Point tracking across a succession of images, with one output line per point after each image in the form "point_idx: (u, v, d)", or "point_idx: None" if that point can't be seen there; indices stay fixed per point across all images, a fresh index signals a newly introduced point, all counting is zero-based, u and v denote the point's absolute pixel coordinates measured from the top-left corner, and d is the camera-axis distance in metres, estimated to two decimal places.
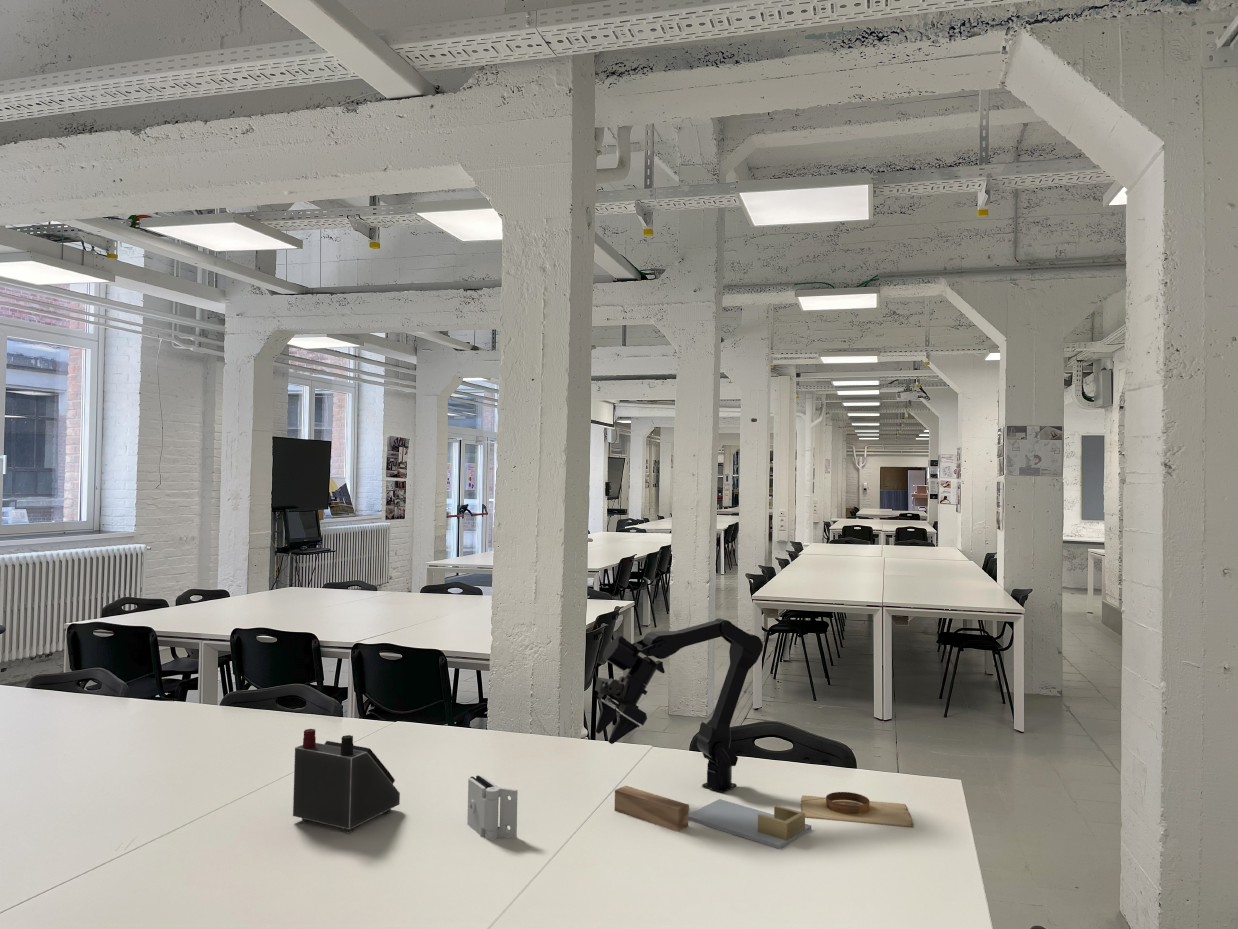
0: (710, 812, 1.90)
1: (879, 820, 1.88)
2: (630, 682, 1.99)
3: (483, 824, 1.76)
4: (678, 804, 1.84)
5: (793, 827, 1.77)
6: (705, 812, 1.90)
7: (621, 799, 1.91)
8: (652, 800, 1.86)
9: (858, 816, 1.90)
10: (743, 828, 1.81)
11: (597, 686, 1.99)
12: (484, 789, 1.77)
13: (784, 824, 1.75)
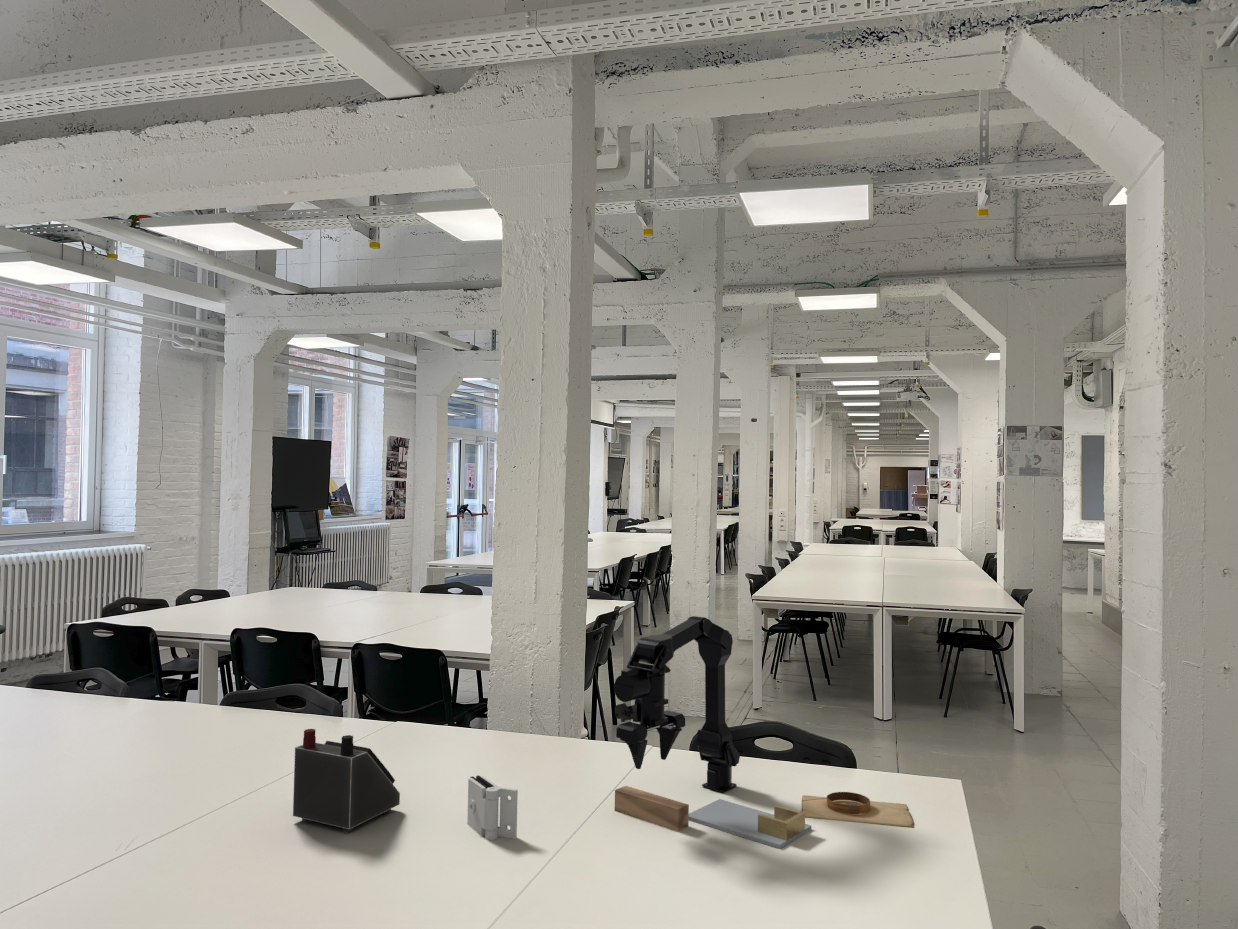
0: (710, 812, 1.90)
1: (880, 820, 1.88)
2: (637, 700, 1.89)
3: (483, 824, 1.76)
4: (678, 804, 1.84)
5: (793, 827, 1.77)
6: (705, 812, 1.90)
7: (621, 799, 1.91)
8: (652, 800, 1.86)
9: (859, 816, 1.90)
10: (743, 828, 1.81)
11: None
12: (484, 789, 1.77)
13: (784, 824, 1.75)
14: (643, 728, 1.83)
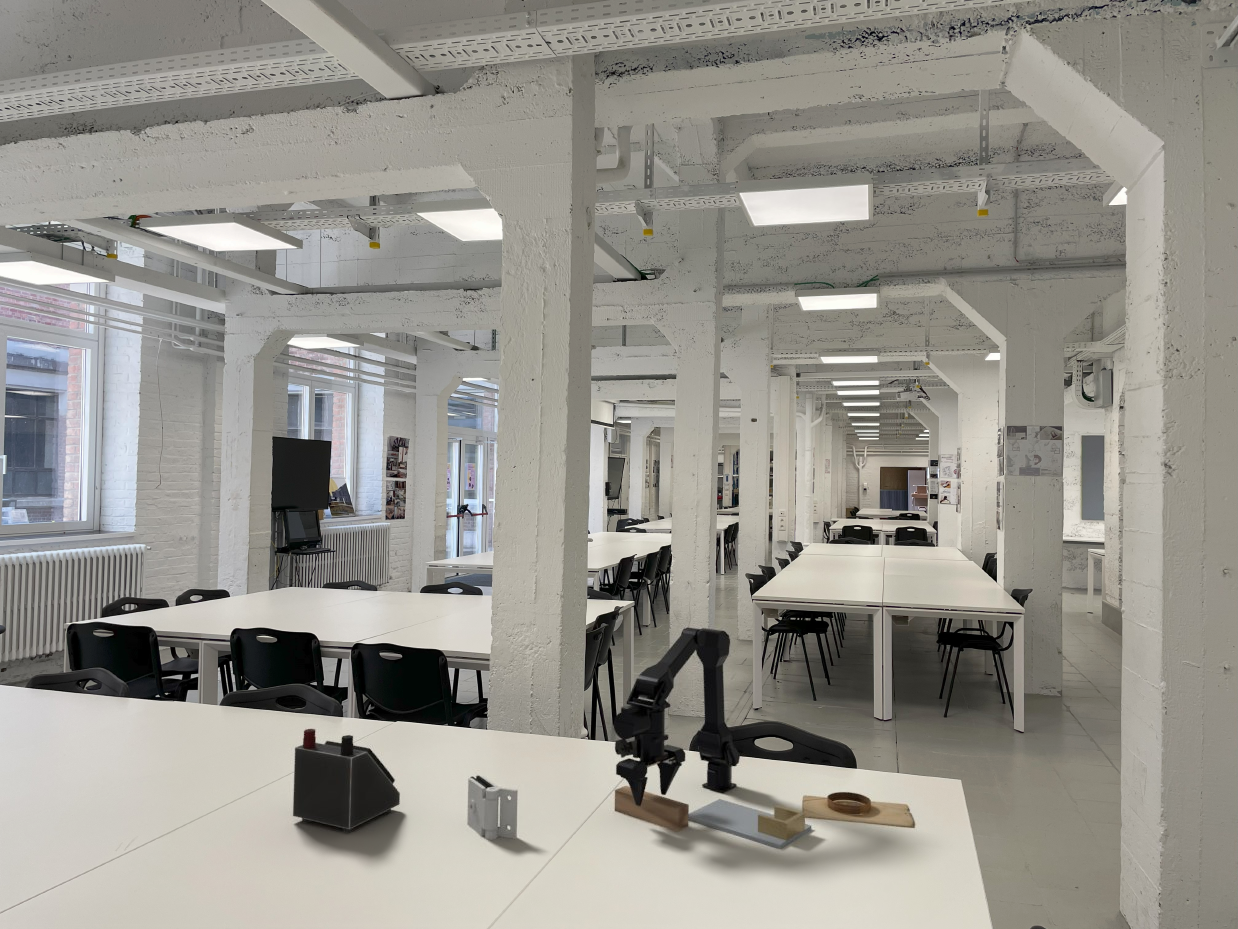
0: (710, 812, 1.90)
1: (880, 820, 1.88)
2: (637, 736, 1.89)
3: (483, 824, 1.76)
4: (678, 804, 1.84)
5: (793, 827, 1.77)
6: (705, 812, 1.90)
7: (621, 799, 1.91)
8: (652, 800, 1.86)
9: (859, 816, 1.90)
10: (743, 828, 1.81)
11: None
12: (484, 789, 1.77)
13: (784, 824, 1.75)
14: (643, 765, 1.82)
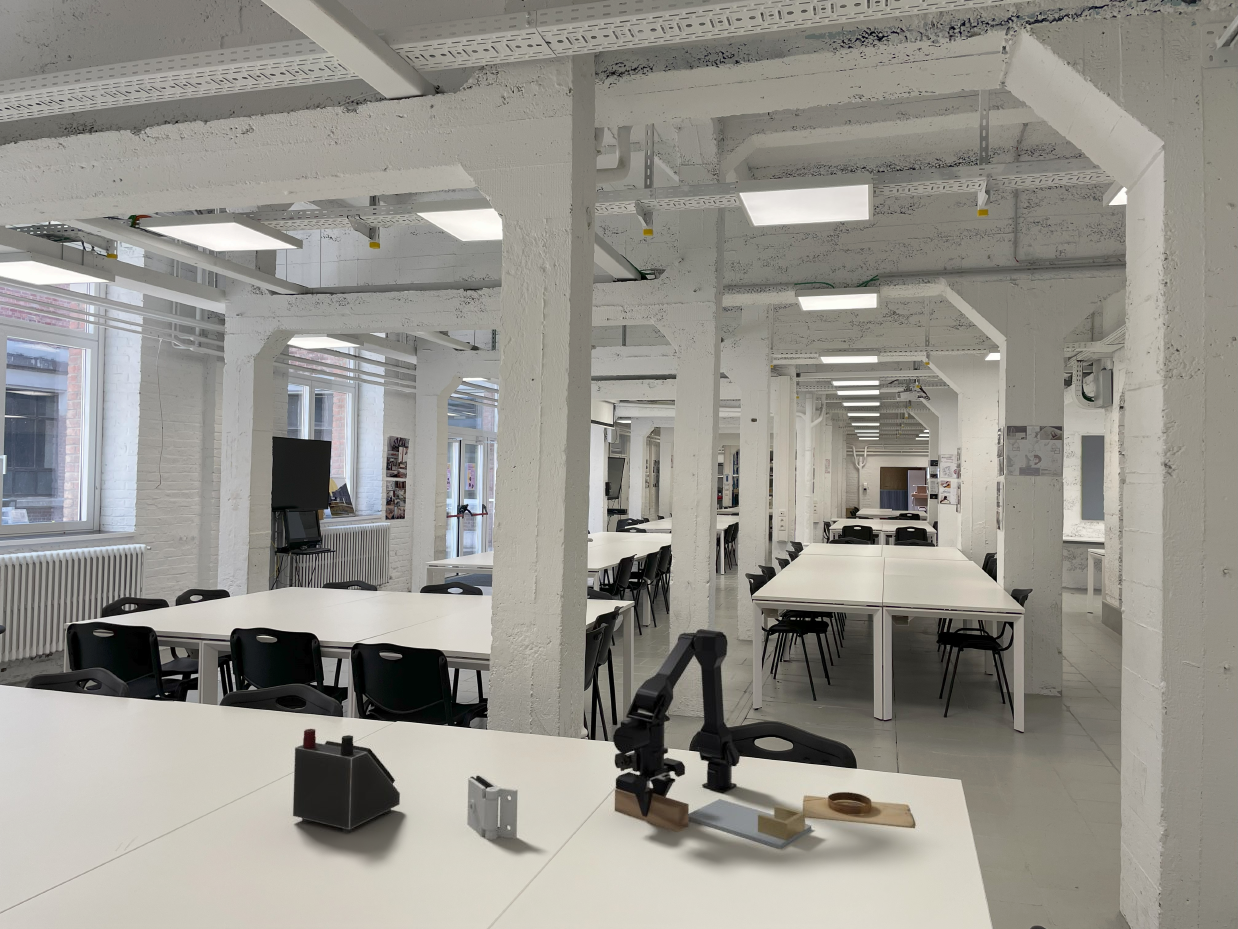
0: (710, 812, 1.90)
1: (881, 820, 1.88)
2: (637, 750, 1.88)
3: (483, 824, 1.76)
4: (678, 804, 1.84)
5: (793, 827, 1.77)
6: (705, 812, 1.90)
7: (621, 798, 1.91)
8: (652, 800, 1.86)
9: (860, 817, 1.90)
10: (743, 828, 1.81)
11: None
12: (484, 789, 1.77)
13: (784, 824, 1.75)
14: (643, 779, 1.82)
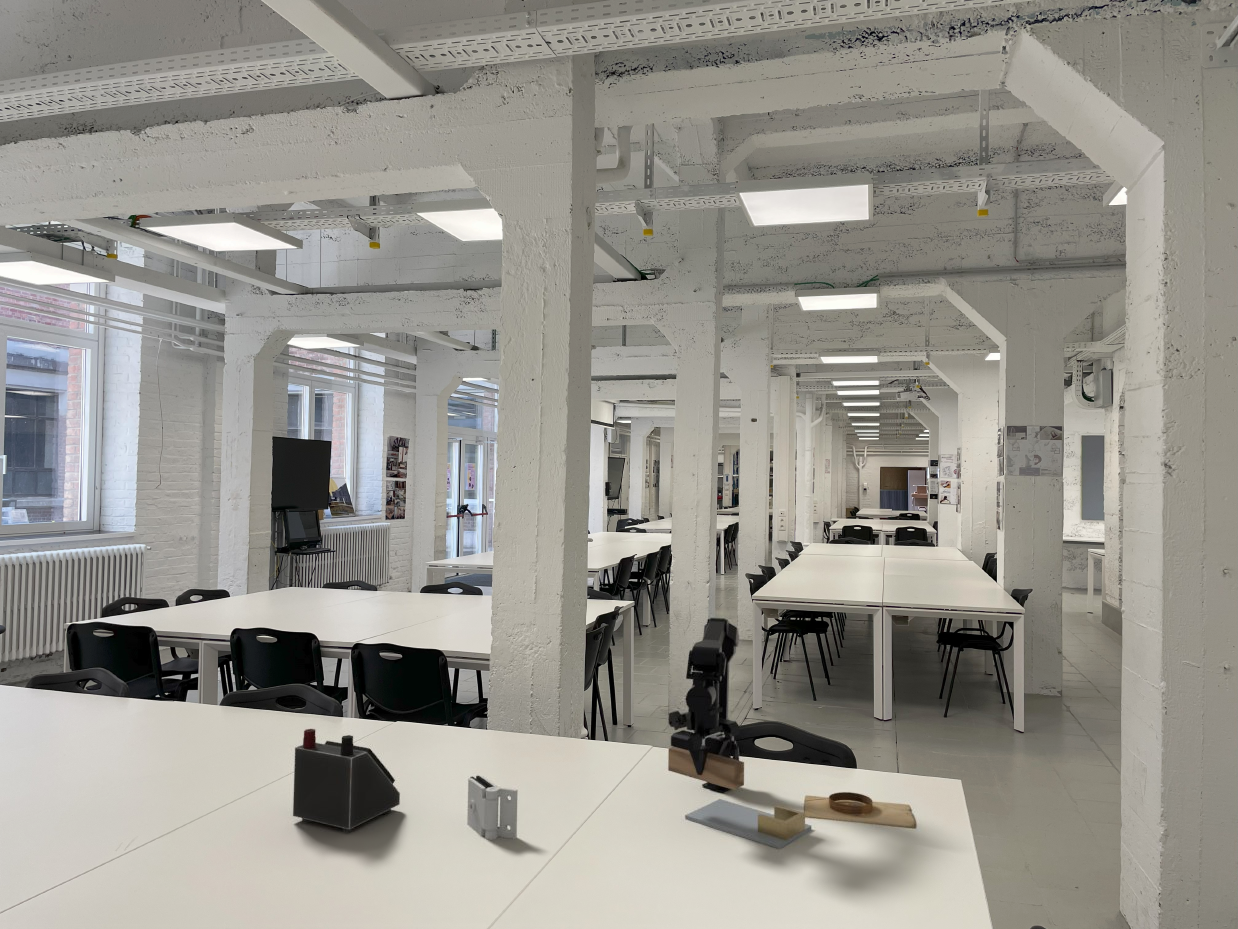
0: (710, 812, 1.90)
1: (882, 820, 1.88)
2: None
3: (483, 824, 1.76)
4: (733, 762, 1.83)
5: (793, 827, 1.77)
6: (705, 812, 1.90)
7: (675, 757, 1.90)
8: (707, 758, 1.85)
9: (861, 817, 1.90)
10: (743, 828, 1.81)
11: None
12: (484, 789, 1.77)
13: (784, 824, 1.75)
14: (698, 737, 1.81)
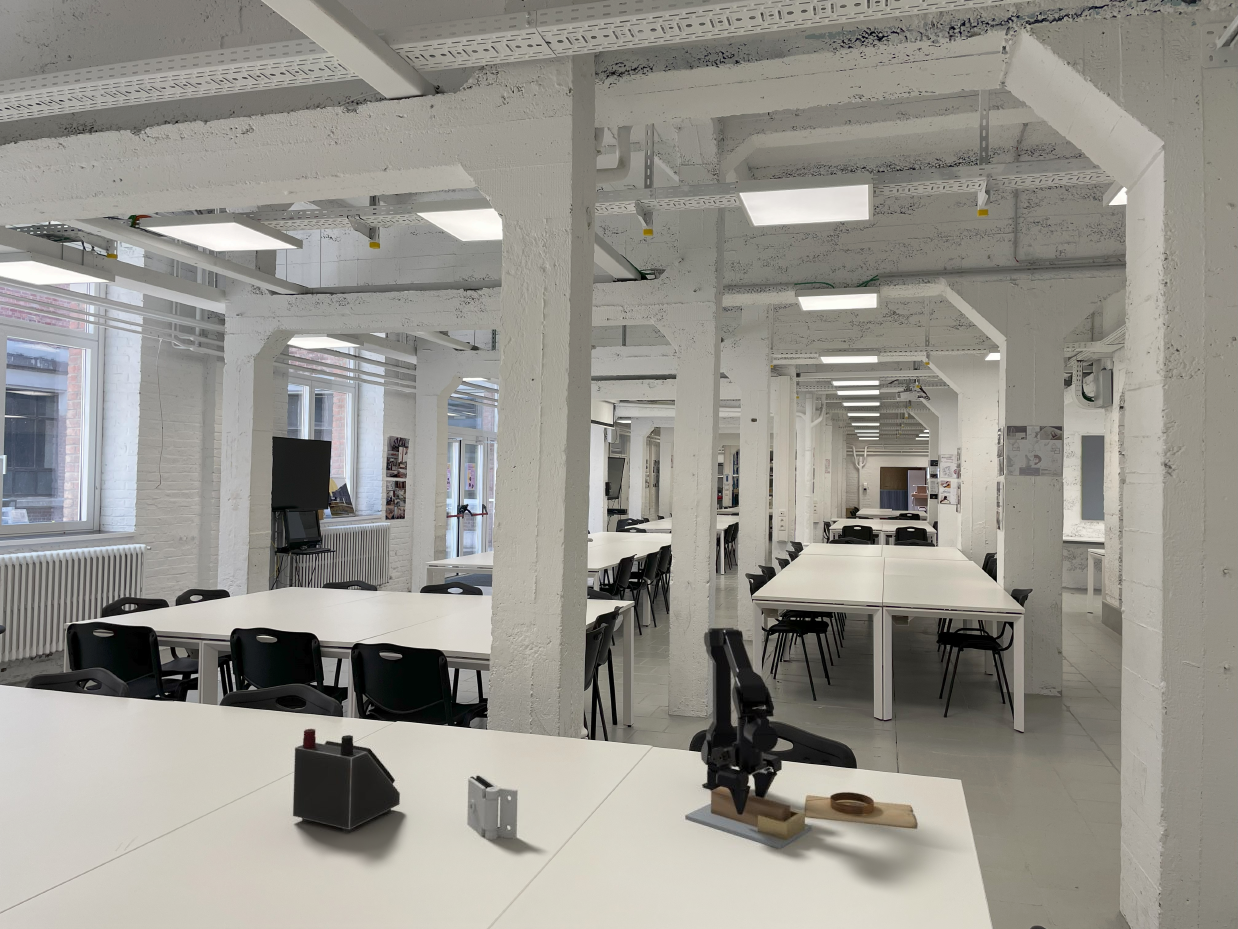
0: (710, 812, 1.90)
1: (883, 821, 1.88)
2: (735, 744, 1.86)
3: (483, 824, 1.76)
4: (780, 805, 1.81)
5: (793, 827, 1.77)
6: (705, 812, 1.90)
7: (718, 800, 1.88)
8: (752, 801, 1.83)
9: (862, 817, 1.90)
10: (743, 828, 1.81)
11: None
12: (484, 789, 1.77)
13: (784, 824, 1.75)
14: (745, 774, 1.79)
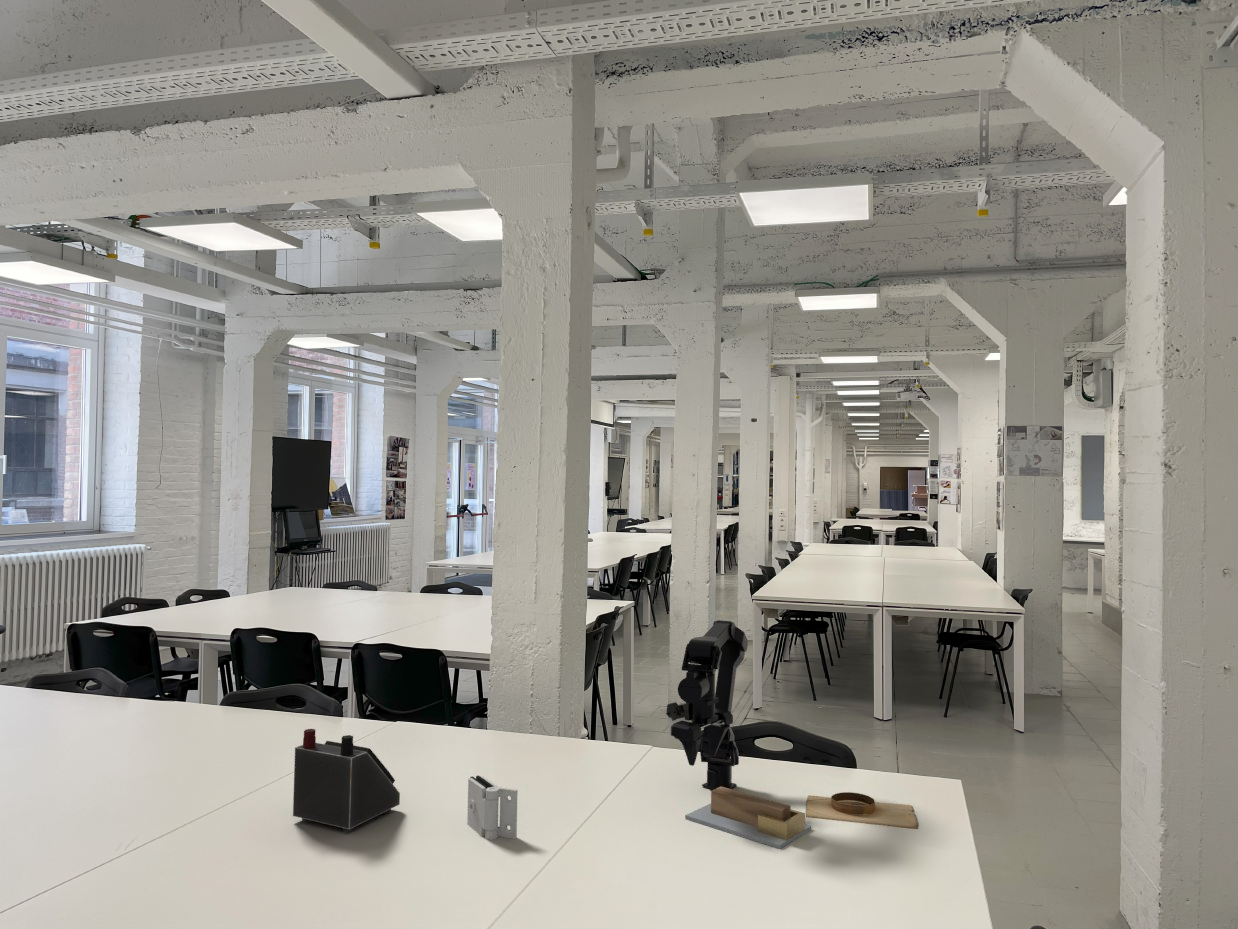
0: (710, 812, 1.90)
1: (884, 820, 1.88)
2: None
3: (483, 824, 1.76)
4: (780, 805, 1.81)
5: (793, 827, 1.77)
6: (705, 812, 1.90)
7: (718, 800, 1.88)
8: (752, 801, 1.83)
9: (862, 817, 1.90)
10: (743, 828, 1.81)
11: None
12: (484, 789, 1.77)
13: (784, 824, 1.75)
14: (698, 726, 1.90)
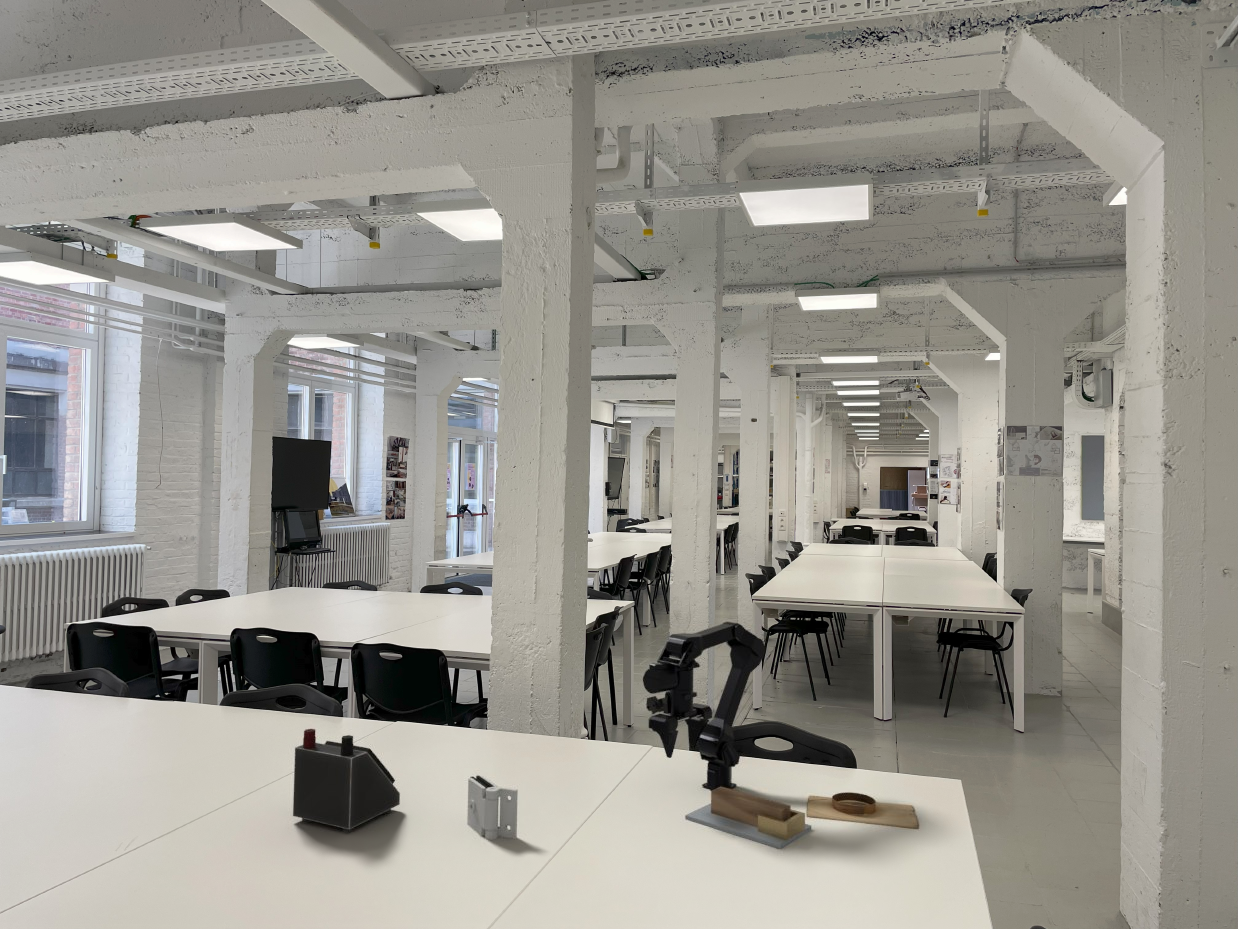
0: (710, 812, 1.90)
1: (884, 821, 1.88)
2: (667, 693, 2.01)
3: (483, 824, 1.76)
4: (780, 805, 1.81)
5: (793, 827, 1.77)
6: (705, 812, 1.90)
7: (718, 800, 1.88)
8: (752, 801, 1.83)
9: (863, 817, 1.90)
10: (743, 828, 1.81)
11: None
12: (484, 789, 1.77)
13: (784, 824, 1.75)
14: (674, 719, 1.95)
